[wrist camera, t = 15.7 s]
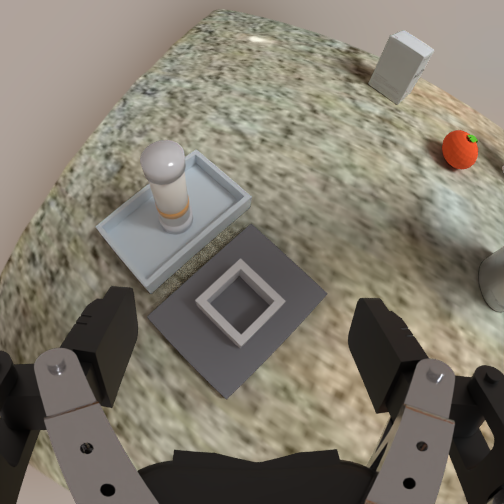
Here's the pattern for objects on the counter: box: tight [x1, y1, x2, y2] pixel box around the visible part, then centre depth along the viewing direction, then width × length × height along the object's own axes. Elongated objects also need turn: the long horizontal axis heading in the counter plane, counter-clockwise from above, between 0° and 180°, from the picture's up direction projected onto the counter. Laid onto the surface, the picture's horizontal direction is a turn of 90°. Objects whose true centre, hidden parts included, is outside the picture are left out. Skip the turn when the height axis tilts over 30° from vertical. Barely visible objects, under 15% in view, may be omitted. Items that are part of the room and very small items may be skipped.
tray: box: [96, 150, 252, 294], centre depth 38 cm, size 16×10×3 cm, turn 136°
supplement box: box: [368, 30, 435, 105], centre depth 49 cm, size 7×7×13 cm
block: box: [147, 224, 327, 399], centre depth 34 cm, size 16×12×4 cm
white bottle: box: [140, 140, 193, 235], centre depth 33 cm, size 4×4×12 cm
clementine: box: [442, 130, 478, 169], centre depth 46 cm, size 8×7×7 cm
